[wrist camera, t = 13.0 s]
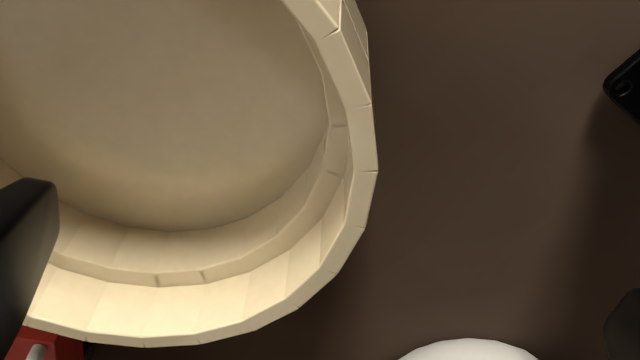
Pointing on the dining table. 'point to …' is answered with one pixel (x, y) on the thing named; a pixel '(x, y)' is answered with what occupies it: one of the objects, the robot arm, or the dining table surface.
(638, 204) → the dining table surface
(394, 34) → the dining table surface
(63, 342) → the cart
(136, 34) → the bowl
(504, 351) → the donut
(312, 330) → the dining table surface
